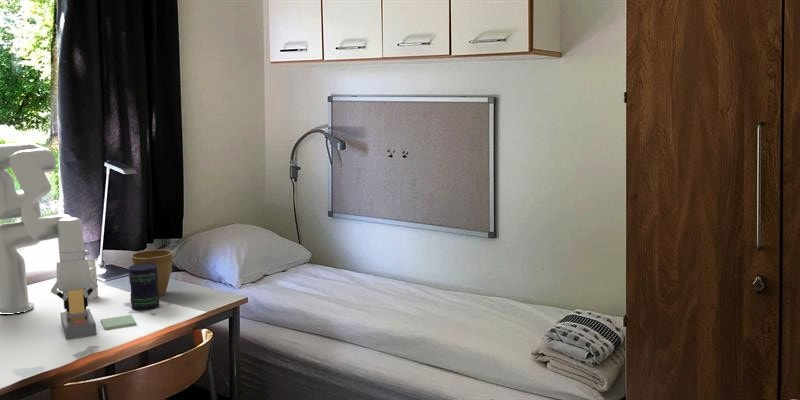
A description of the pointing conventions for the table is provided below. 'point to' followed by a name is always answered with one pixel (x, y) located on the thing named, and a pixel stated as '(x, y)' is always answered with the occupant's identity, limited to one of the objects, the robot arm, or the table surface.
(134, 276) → the storage jar
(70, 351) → the table surface
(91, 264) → the ink cartridge box
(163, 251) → the plant pot
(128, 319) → the mat
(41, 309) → the table surface
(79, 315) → the plug
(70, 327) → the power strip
